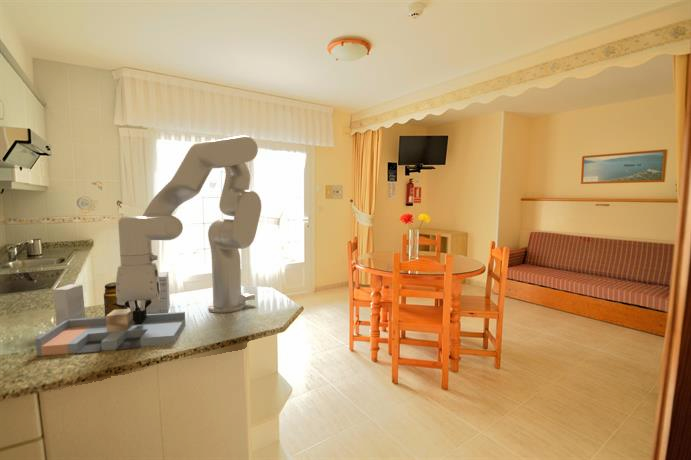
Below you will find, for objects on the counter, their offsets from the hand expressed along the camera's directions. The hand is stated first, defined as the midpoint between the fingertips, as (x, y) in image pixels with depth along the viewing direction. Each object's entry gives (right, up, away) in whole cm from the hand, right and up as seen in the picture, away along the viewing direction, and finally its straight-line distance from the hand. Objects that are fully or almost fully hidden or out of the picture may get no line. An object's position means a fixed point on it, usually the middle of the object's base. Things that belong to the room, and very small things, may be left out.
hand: (140, 322), depth 94 cm
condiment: (-15, -2, +10) cm, 18 cm away
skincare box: (-25, -3, +7) cm, 26 cm away
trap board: (-3, -4, -3) cm, 6 cm away
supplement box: (-7, -1, +20) cm, 21 cm away
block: (-5, -1, -1) cm, 5 cm away
